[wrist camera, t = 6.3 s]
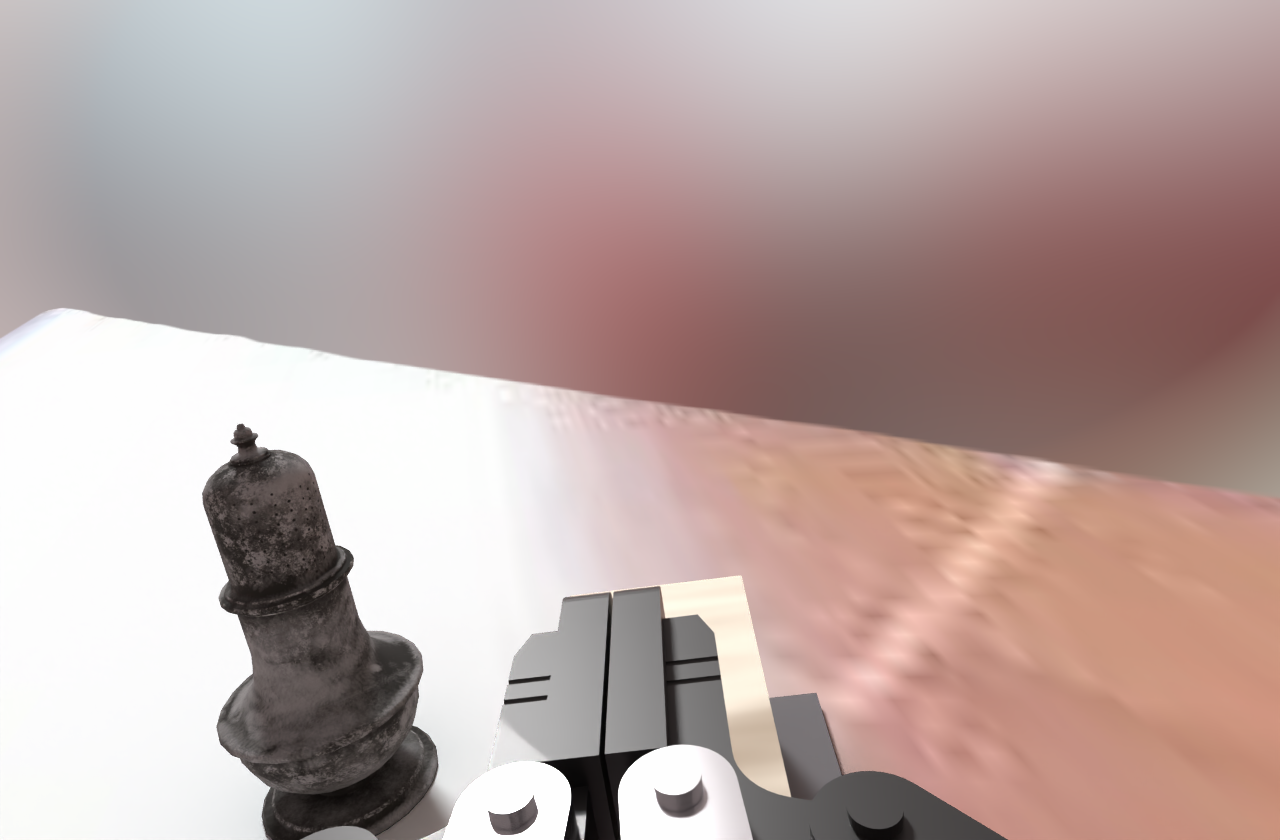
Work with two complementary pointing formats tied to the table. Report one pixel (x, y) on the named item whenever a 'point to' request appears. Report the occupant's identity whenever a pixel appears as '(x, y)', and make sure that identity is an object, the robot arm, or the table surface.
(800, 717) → the gray rectangular block
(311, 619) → the salt shaker
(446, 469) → the table surface
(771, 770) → the birch block
